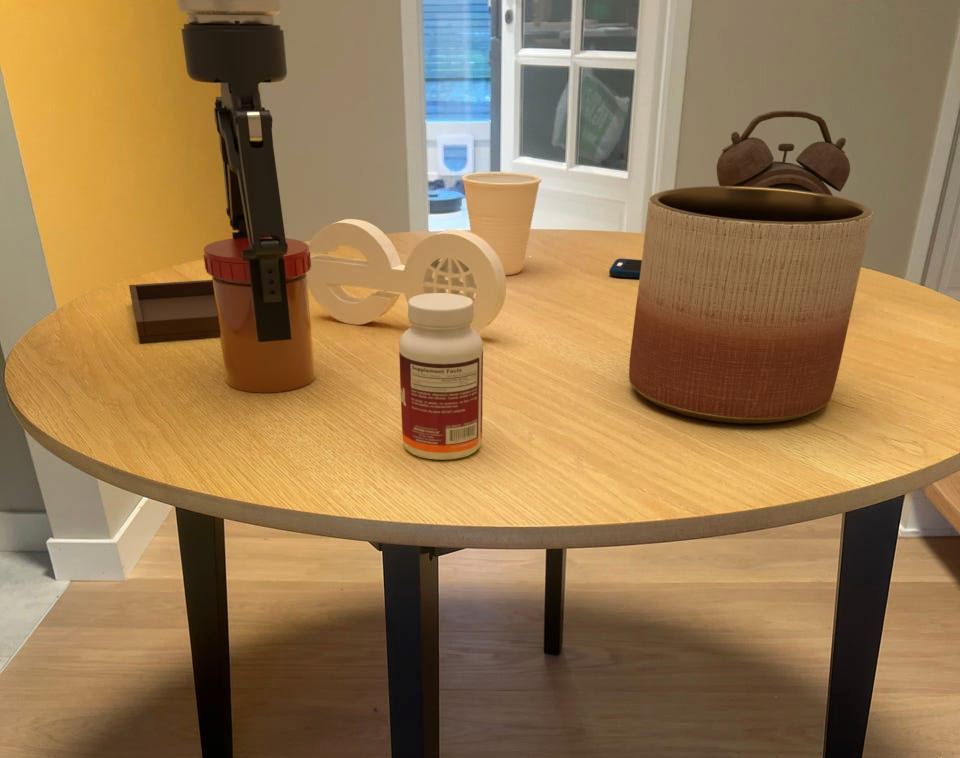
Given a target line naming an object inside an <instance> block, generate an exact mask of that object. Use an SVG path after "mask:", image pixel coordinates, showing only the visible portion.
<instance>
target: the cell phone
mask: <svg viewBox="0 0 960 758" xmlns="http://www.w3.org/2000/svg"><path fill="white" fill-rule="evenodd" d="M641 264H642V259H636V258H635V259H634V258H623V257H622V258H616V260H614V262H613V264H612V265H611V266H610V268H609V271H608V274H609V276H611V277H617V278H618V277H619V278H632V279H640V272H641Z"/></svg>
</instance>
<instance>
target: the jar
mask: <svg viewBox="0 0 960 758" xmlns="http://www.w3.org/2000/svg"><path fill="white" fill-rule="evenodd" d="M211 280H212V283H213V290H214V298H215V305H216V312H217V320H218V327H219V334H220V337H219V340H220V348H221V355H222V356H221V357H222V365H223V370H224V378H225V382H226V384H227V385H228V386H229V387H231V388H234V389H235V390H239V391H243V392H249V393H260V394H262V393H263V394H267V393H268V394H269V393H270V394H271V393H282V392H288V391H293V390H297V389H300V388H303V387H305V386H308V385H309V384H311V383H313V382H314V380H315V378H316V370H315V357H314V356H315V355H314V347H313V346H314V345H313V333H312V322H311V321H312V320H311V307H310V297H309V286H308V283H307V274H306V273H305V274H302V275H300V276H297V277H293V278H288V279H286V288H287V298H288V308H289V319H290V329H291V340H279V341H267V342H259V341H258V338H257V329H256V321H255V312H254V303H253V295H252V286H251V281H233V280H226V279H220V278H217V277H214V276H211Z"/></svg>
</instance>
